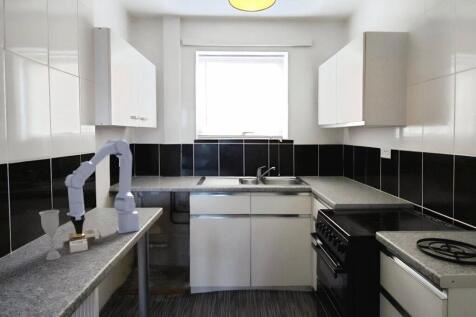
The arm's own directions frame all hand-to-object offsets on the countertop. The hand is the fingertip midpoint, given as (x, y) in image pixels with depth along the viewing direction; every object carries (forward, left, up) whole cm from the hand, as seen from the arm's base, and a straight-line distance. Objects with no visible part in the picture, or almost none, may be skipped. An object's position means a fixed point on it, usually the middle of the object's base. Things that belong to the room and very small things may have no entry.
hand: (79, 233), depth 157 cm
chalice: (+10, +14, -5) cm, 18 cm away
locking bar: (-5, +4, -1) cm, 6 cm away
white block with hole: (+1, +9, -5) cm, 10 cm away
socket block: (-2, -2, -5) cm, 6 cm away
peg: (0, 0, -1) cm, 1 cm away
